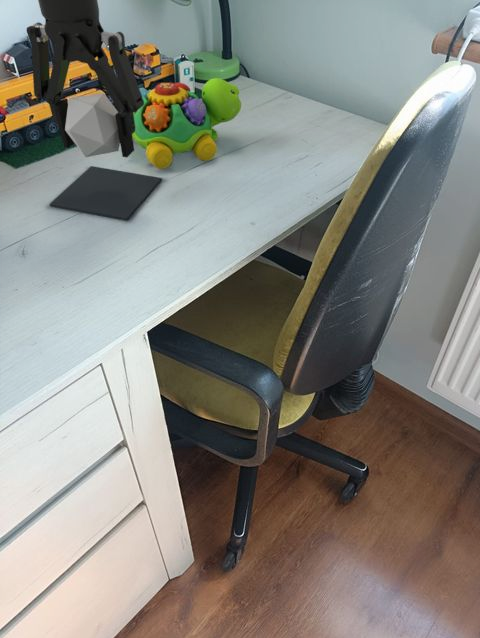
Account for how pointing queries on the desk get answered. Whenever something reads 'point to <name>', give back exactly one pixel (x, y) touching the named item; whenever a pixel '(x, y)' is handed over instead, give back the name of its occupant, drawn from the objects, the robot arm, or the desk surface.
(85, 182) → the mat
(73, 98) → the die
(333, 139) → the desk surface
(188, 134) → the turtle toy
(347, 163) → the desk surface
